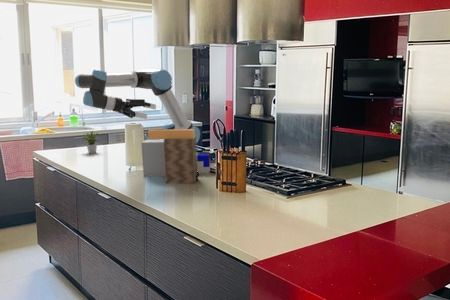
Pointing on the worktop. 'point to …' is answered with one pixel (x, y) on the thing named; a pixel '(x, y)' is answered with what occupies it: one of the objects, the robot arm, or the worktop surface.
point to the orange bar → (171, 134)
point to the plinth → (153, 158)
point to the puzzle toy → (203, 162)
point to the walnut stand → (180, 160)
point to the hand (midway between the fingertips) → (151, 111)
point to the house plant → (91, 142)
